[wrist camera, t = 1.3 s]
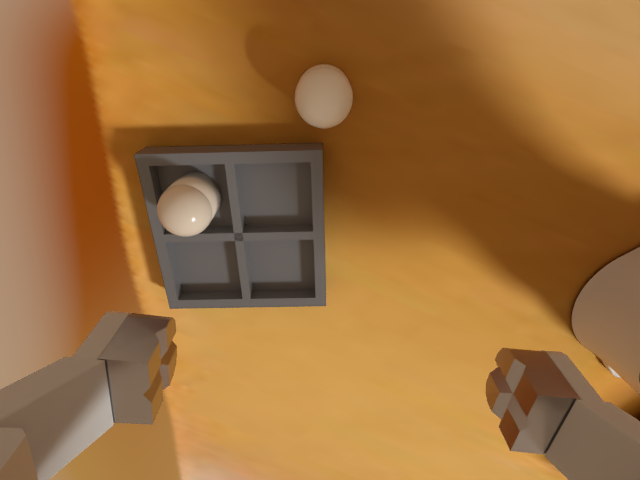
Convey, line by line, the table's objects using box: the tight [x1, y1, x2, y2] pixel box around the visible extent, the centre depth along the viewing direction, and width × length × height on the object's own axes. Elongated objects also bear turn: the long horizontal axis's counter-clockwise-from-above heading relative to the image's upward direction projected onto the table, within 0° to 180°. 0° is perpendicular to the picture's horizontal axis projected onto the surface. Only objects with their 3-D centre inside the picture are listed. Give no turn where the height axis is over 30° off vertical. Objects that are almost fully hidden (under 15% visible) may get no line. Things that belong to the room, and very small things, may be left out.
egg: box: [295, 63, 353, 128], centre depth 31 cm, size 4×4×6 cm
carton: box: [134, 143, 326, 309], centre depth 38 cm, size 16×16×2 cm
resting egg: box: [157, 171, 222, 237], centre depth 35 cm, size 4×4×6 cm
